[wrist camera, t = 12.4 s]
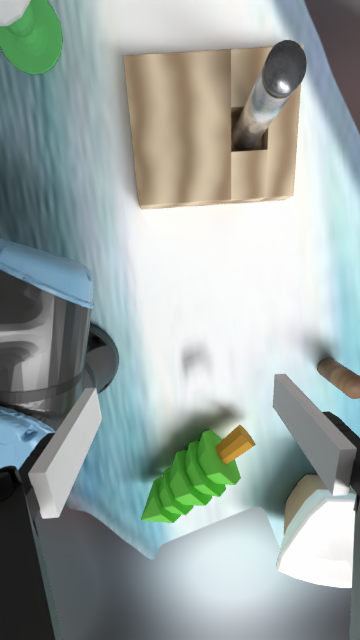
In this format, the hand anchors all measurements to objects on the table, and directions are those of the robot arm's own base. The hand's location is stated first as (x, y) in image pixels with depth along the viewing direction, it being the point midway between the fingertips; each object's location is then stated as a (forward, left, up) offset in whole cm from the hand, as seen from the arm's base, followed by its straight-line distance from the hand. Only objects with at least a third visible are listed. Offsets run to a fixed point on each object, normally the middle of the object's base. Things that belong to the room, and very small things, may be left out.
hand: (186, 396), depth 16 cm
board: (+7, +27, -27) cm, 39 cm away
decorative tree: (0, -34, -27) cm, 43 cm away
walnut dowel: (+30, -14, -27) cm, 43 cm away
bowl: (+31, -50, -27) cm, 65 cm away
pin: (+12, +27, -26) cm, 39 cm away
